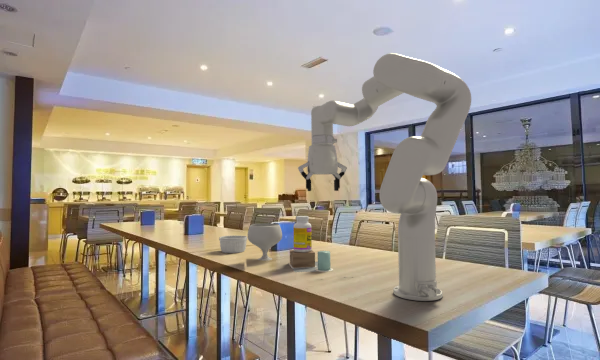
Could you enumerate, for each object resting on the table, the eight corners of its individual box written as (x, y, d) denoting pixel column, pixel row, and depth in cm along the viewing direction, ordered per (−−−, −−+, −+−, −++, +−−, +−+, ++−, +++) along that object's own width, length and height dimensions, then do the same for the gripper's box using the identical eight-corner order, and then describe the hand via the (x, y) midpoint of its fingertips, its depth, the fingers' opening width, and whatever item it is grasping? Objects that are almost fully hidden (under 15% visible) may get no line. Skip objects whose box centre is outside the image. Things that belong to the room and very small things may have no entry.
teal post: (332, 270, 119) (331, 252, 119) (319, 271, 118) (319, 253, 118) (328, 267, 123) (328, 250, 124) (316, 268, 123) (316, 251, 123)
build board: (335, 274, 118) (335, 271, 118) (295, 276, 116) (295, 273, 116) (323, 264, 135) (323, 261, 135) (288, 266, 133) (288, 262, 133)
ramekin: (238, 248, 178) (238, 234, 178) (252, 251, 168) (252, 236, 168) (214, 251, 169) (214, 236, 169) (227, 254, 159) (227, 239, 159)
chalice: (281, 265, 134) (281, 226, 135) (245, 265, 134) (244, 226, 135) (283, 258, 148) (282, 223, 149) (250, 258, 148) (250, 223, 149)
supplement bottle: (308, 253, 124) (308, 217, 125) (291, 252, 126) (290, 216, 127) (313, 250, 131) (313, 215, 131) (297, 249, 133) (296, 215, 133)
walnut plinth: (315, 266, 125) (314, 252, 125) (293, 267, 124) (292, 253, 124) (310, 262, 133) (310, 249, 133) (289, 263, 132) (289, 250, 132)
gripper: (343, 143, 128) (343, 190, 127) (296, 143, 125) (296, 191, 124) (349, 140, 120) (350, 190, 120) (299, 140, 117) (300, 191, 117)
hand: (322, 190), depth 122 cm, fingers open, 9 cm apart
